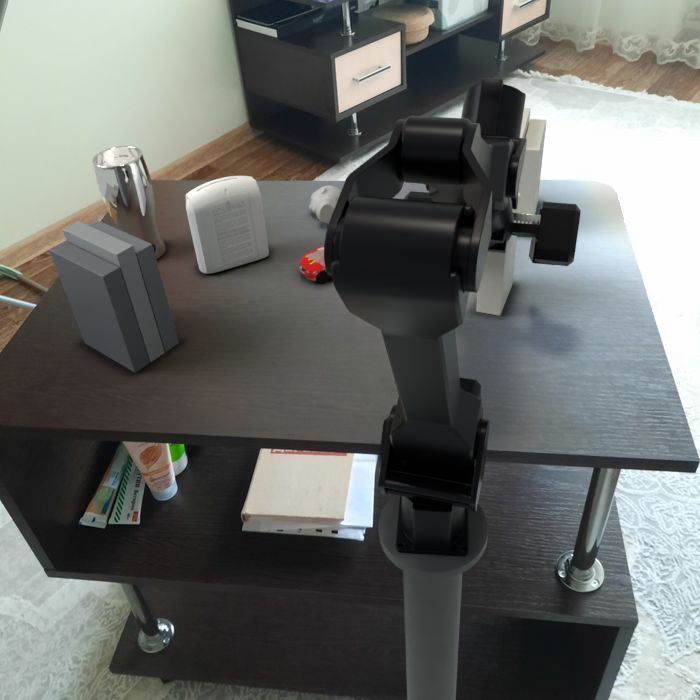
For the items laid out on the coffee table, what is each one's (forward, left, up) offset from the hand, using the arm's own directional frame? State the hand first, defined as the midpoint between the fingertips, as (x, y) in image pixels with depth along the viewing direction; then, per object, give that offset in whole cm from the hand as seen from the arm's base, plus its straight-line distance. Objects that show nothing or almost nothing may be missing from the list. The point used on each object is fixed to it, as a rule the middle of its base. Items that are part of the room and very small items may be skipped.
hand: (492, 246), depth 86 cm
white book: (+1, -1, -8) cm, 8 cm away
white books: (+21, -4, -8) cm, 23 cm away
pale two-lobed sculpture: (+22, +24, -8) cm, 33 cm away
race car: (+8, +19, -8) cm, 22 cm away
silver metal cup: (+11, +49, -8) cm, 51 cm away
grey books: (-10, +43, -8) cm, 45 cm away
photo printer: (+9, +35, -8) cm, 37 cm away
